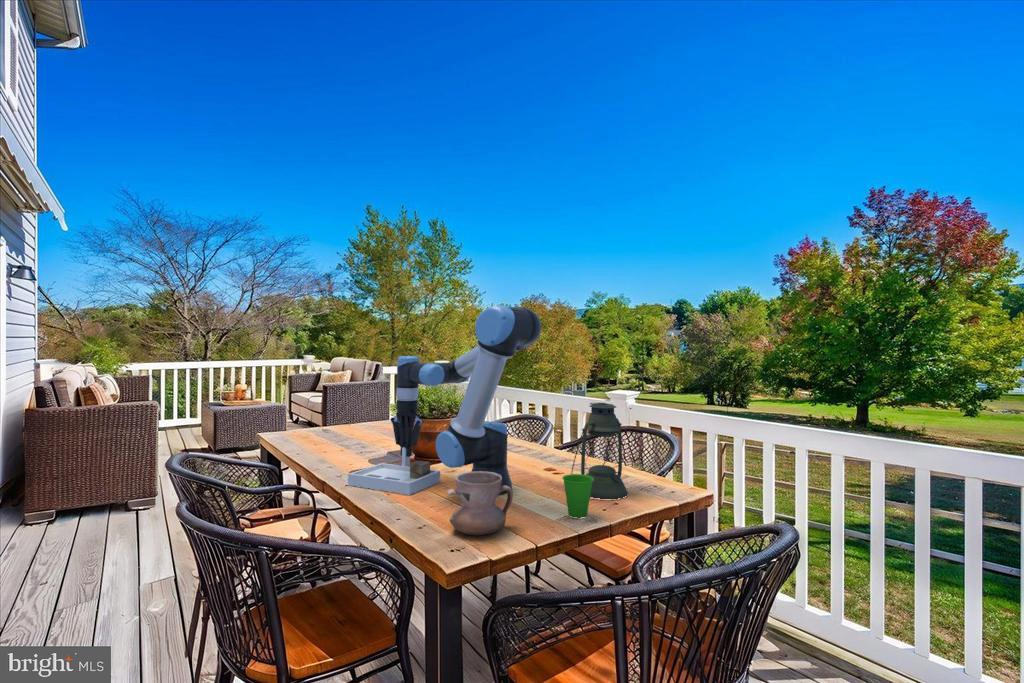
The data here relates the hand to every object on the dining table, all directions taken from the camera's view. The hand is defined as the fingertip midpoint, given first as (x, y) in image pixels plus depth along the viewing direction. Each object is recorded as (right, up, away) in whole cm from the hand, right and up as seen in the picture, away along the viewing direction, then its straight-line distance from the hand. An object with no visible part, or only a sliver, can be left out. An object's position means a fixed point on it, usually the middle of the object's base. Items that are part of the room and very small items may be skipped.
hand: (405, 465), depth 179 cm
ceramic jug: (+30, -6, -46) cm, 55 cm away
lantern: (+68, -7, -11) cm, 69 cm away
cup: (+57, -7, -34) cm, 67 cm away
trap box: (-3, -6, -3) cm, 7 cm away
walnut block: (+6, -4, -3) cm, 7 cm away
